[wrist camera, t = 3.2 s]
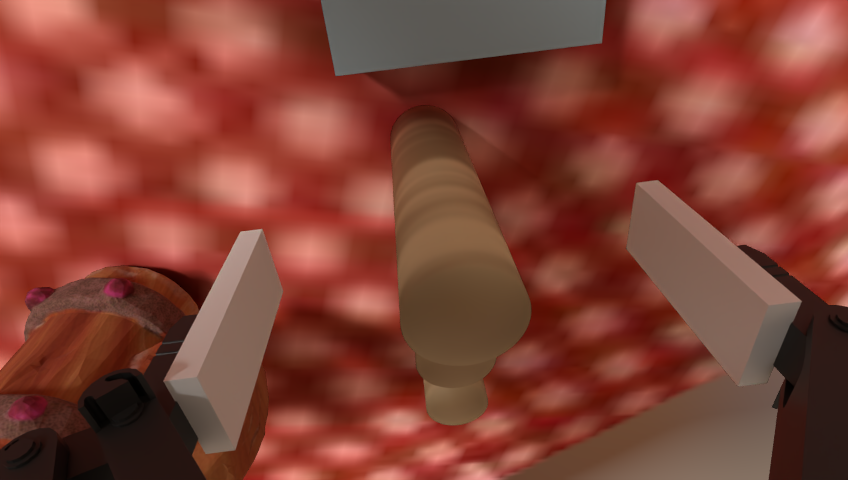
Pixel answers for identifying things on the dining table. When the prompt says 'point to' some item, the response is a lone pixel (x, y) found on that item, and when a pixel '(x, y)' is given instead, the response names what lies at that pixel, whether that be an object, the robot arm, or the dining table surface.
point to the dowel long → (450, 248)
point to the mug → (105, 357)
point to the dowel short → (455, 403)
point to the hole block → (452, 30)
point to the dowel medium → (452, 372)
